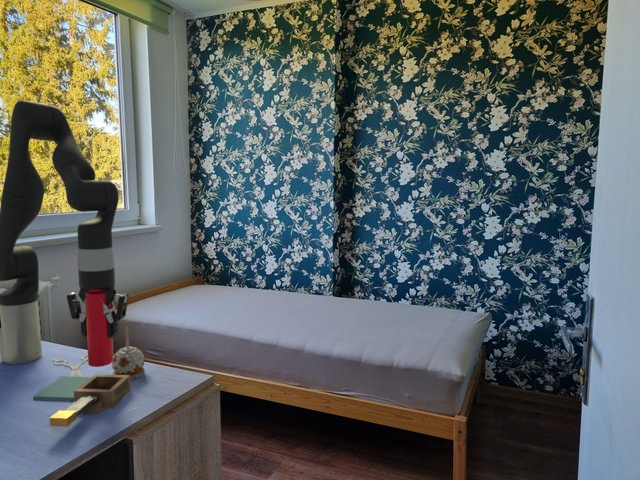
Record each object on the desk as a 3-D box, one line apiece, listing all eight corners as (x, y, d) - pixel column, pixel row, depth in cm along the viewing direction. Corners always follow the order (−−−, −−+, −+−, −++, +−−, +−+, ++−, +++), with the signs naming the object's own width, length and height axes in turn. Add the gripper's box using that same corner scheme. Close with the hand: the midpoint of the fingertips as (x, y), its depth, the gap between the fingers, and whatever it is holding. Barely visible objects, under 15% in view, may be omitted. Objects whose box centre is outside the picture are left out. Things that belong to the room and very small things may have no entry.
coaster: (33, 399, 106) (33, 396, 106) (61, 379, 117) (61, 376, 117) (78, 400, 106) (77, 397, 106) (102, 380, 117) (102, 377, 117)
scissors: (92, 352, 135) (98, 376, 118) (92, 354, 135) (99, 379, 118) (51, 359, 129) (52, 386, 112) (52, 362, 129) (52, 389, 113)
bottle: (112, 356, 110) (109, 277, 107) (114, 364, 105) (110, 282, 102) (87, 359, 107) (83, 279, 104) (88, 368, 102) (84, 284, 100)
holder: (68, 412, 100) (67, 396, 100) (95, 389, 112) (94, 374, 111) (107, 414, 100) (106, 397, 100) (130, 390, 112) (130, 375, 111)
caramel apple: (106, 378, 118) (103, 324, 116) (130, 367, 125) (128, 316, 123) (127, 384, 115) (124, 328, 113) (150, 372, 122) (148, 320, 120)
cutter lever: (83, 400, 102) (83, 392, 101) (98, 400, 101) (98, 393, 101) (50, 426, 90) (49, 417, 90) (67, 426, 90) (67, 418, 90)
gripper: (134, 264, 106) (136, 332, 109) (75, 262, 107) (79, 329, 109) (118, 270, 99) (121, 343, 101) (56, 268, 99) (60, 340, 102)
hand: (99, 336), depth 105 cm, fingers closed on bottle, 5 cm apart
